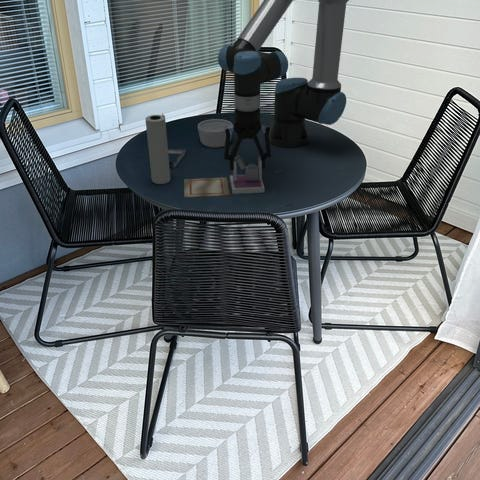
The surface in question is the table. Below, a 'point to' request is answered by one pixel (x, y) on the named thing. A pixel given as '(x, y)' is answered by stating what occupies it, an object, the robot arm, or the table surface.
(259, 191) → the ink pad
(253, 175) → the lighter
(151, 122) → the paper towel roll
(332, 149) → the table surface
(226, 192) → the marked board
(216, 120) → the ramekin
